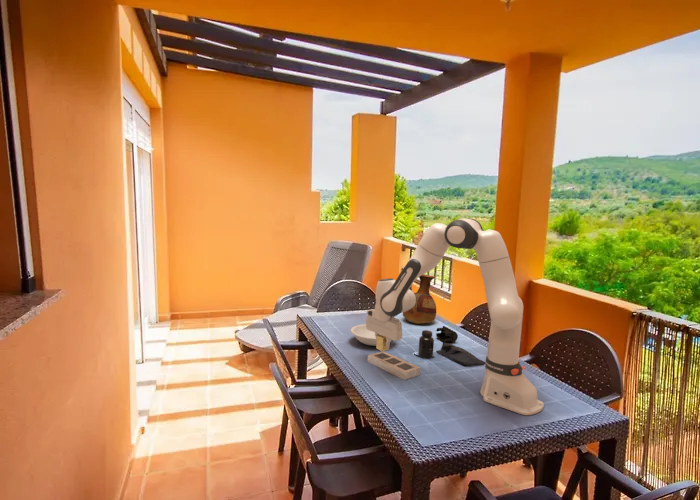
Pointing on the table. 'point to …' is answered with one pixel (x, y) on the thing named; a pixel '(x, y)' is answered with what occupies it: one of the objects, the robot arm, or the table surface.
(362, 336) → the soup bowl
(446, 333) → the end cap
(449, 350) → the dark slate chunk
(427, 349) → the supplement bottle
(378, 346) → the golden yellow block
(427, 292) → the ceramic pitcher
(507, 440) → the table surface
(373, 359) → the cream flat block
